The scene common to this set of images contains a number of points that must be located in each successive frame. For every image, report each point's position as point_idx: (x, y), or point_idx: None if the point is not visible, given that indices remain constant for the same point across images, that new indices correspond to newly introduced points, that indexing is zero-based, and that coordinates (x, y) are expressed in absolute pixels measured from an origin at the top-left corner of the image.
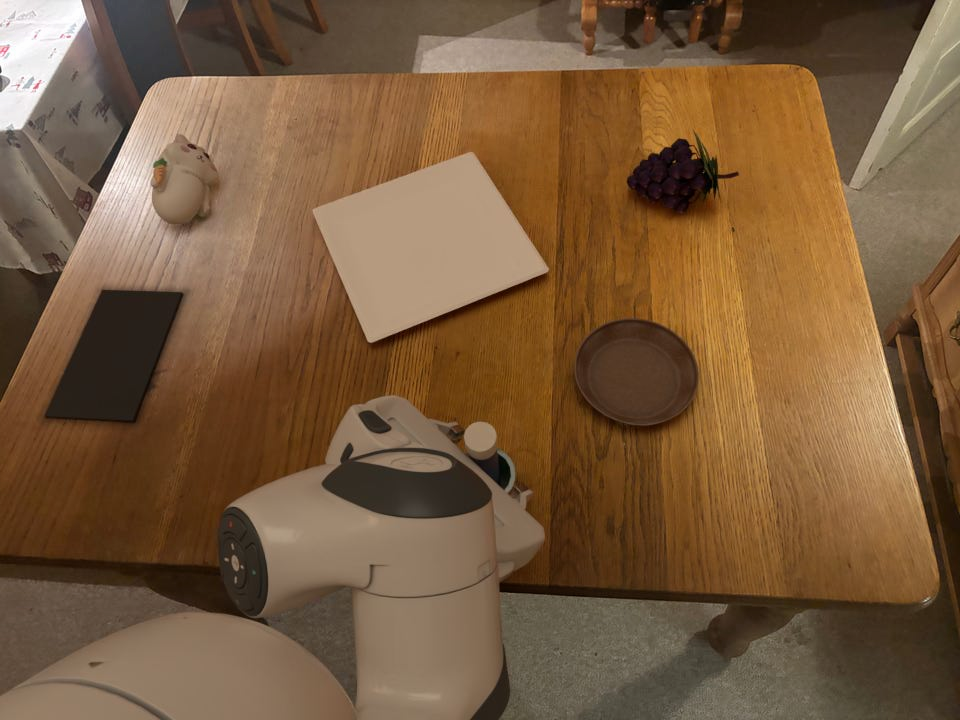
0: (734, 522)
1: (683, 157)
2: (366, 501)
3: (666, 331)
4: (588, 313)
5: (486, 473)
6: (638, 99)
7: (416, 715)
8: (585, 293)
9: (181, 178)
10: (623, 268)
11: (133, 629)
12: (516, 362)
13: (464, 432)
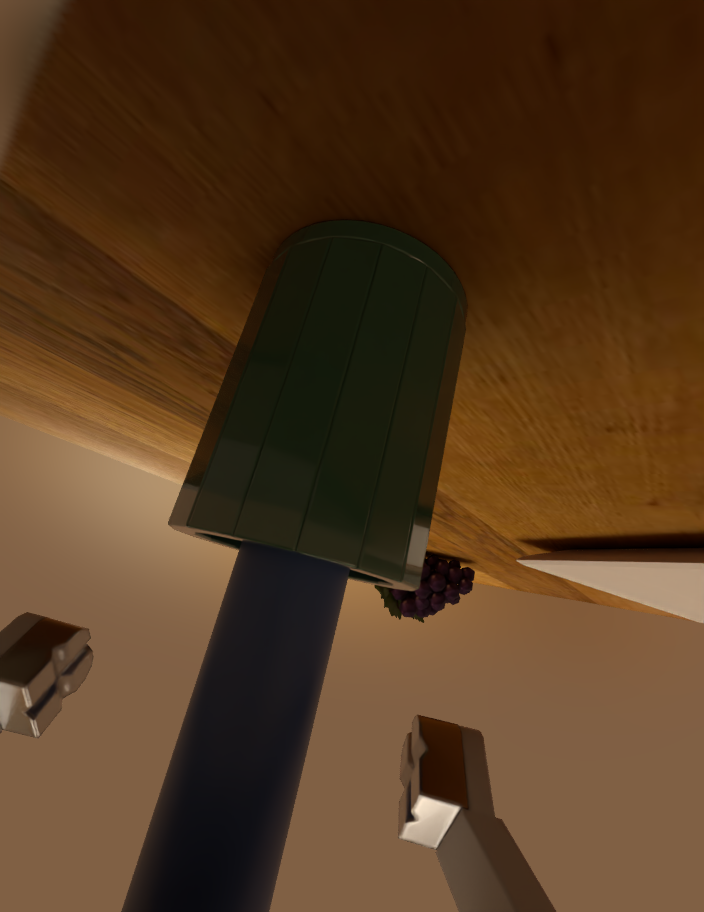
0: (69, 396)
1: (419, 611)
2: None
3: None
4: (438, 519)
5: (187, 724)
6: (509, 585)
7: None
8: (457, 529)
9: None
10: (432, 535)
11: None
12: (506, 494)
13: (404, 747)
